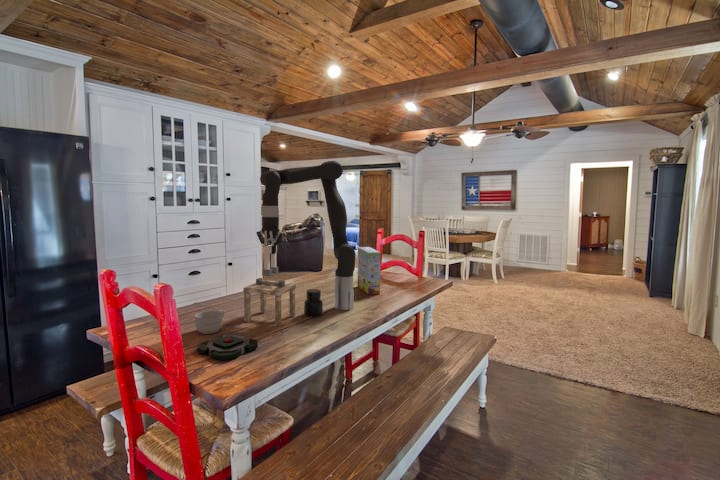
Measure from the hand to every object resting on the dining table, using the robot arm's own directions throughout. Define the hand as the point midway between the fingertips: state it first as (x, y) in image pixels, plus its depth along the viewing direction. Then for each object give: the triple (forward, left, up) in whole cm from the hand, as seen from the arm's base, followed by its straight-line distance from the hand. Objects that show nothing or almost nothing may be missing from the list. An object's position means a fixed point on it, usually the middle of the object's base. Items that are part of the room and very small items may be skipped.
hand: (270, 253), depth 175 cm
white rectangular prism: (0, 0, -10) cm, 10 cm away
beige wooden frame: (0, 0, -31) cm, 31 cm away
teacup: (+15, +22, -31) cm, 41 cm away
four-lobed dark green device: (-3, +36, -32) cm, 48 cm away
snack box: (-28, -69, -31) cm, 81 cm away
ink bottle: (-16, -13, -31) cm, 37 cm away
